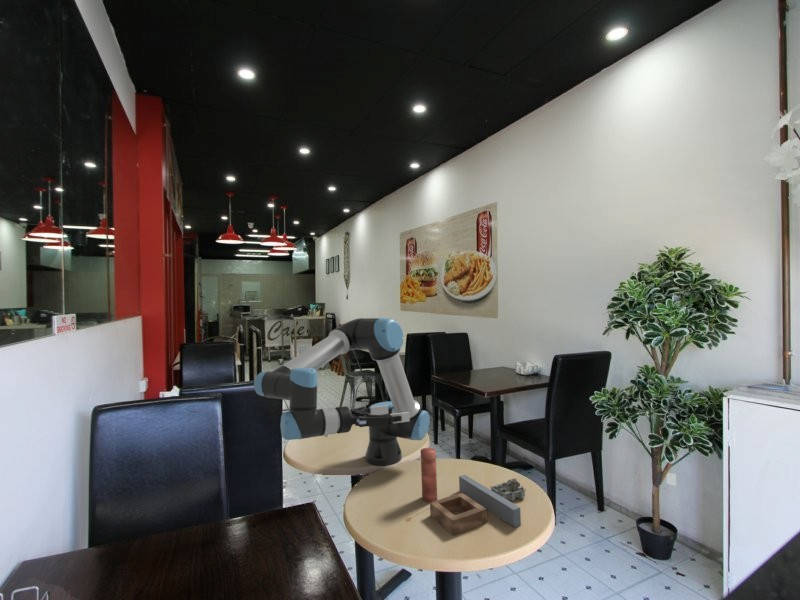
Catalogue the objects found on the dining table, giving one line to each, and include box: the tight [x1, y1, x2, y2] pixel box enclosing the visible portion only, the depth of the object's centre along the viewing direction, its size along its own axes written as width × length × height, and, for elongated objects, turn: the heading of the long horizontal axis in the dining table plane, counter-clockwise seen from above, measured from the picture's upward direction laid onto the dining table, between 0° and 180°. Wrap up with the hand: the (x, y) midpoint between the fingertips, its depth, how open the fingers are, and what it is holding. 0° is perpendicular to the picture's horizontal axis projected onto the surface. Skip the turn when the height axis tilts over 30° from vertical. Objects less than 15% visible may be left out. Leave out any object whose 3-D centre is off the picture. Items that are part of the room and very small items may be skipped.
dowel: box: [420, 447, 438, 503], centre depth 132 cm, size 5×5×16 cm
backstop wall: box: [458, 474, 522, 528], centre depth 126 cm, size 26×2×5 cm, turn 28°
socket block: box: [429, 492, 488, 536], centre depth 119 cm, size 12×12×4 cm
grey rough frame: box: [489, 478, 527, 501], centre depth 132 cm, size 11×8×4 cm
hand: (398, 412), depth 128 cm, fingers open, 13 cm apart
